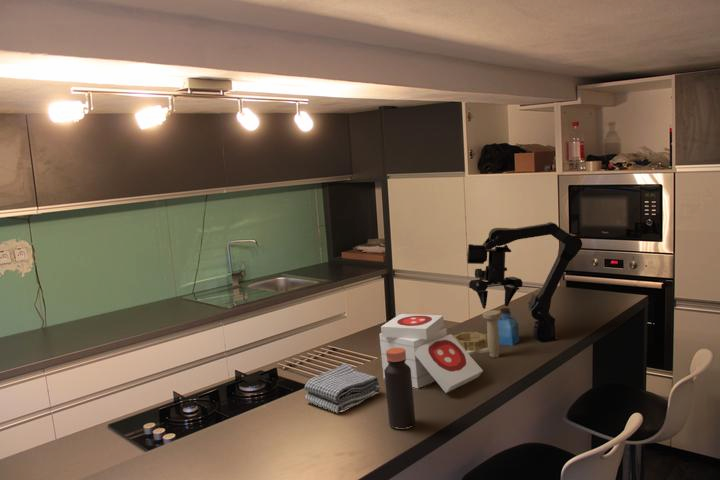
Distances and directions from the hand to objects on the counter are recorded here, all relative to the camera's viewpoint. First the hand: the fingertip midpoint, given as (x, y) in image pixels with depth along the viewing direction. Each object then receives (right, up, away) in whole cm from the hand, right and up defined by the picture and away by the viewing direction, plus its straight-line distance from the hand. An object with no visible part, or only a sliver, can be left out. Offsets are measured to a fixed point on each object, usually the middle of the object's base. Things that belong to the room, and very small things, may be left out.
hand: (495, 307), depth 214 cm
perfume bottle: (+5, -13, +1) cm, 13 cm away
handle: (-3, -15, -13) cm, 20 cm away
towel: (-53, -23, -36) cm, 68 cm away
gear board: (-9, -14, -2) cm, 17 cm away
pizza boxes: (-26, -19, -28) cm, 43 cm away
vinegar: (-37, -24, -57) cm, 72 cm away
